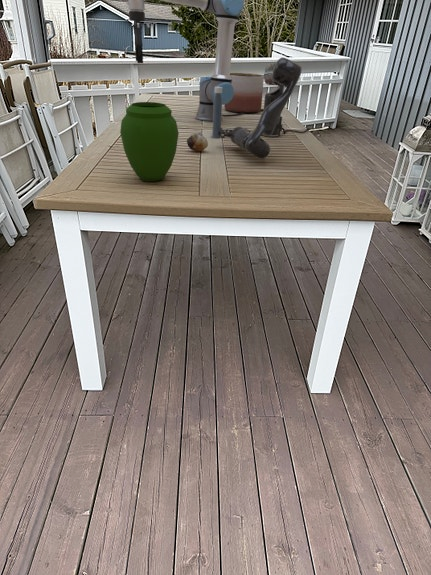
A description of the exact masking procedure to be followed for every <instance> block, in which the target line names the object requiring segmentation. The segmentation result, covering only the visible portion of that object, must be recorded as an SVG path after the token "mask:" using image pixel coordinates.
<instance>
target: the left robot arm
mask: <svg viewBox="0 0 431 575" xmlns="http://www.w3.org/2000/svg"><path fill="white" fill-rule="evenodd" d="M159 1H161V2H166V3H171V4H177V5H183V6H188V7H194V8H199V9H200V10H201V11H202V12H206V13H211V14H214V15H215V19H216V21H217V22H218V25H217V35H216V47H215V48H216V49H215V58H214V59H215V61H214V72H213V74H212V75H211V76H202V77H200V79H199V94H198V95H199V100H198V101H199V103H198V104H199V105H198V107H197V111H196V114H195V119H196V120H199V121H202V122H203V121H204V122H213V106H214V97H215V95H216V93H215V87H222V93H221V98H222V106H224V105H225V104H227V103H229V102H230V101H231V100H232V98H233V96H234V88H233V86H232V85H231V83H232V78H231V77H230V73H231V67H232V66H231V64H232V54H233V47H234V46H233V45H234V35H235V25H236V23H238V21H239V15H240V13H242V11H243V9H244V5H245V4H244V0H159ZM126 5H128V6H127V7H128V10H129V11H128V20H129V21H130V22H131V21H132V22H133V25H132V29H133V35H134V52H135V53H134V54H135V61H136V63H137V64H144V53H143V52H144V51H143V45H144V44H143V36H142V35H143V26H142V23H141V22H145V21H146V13H145V10H146V6H145V0H127V2H126ZM263 111H264V108H261V110H260V111H259V112H263ZM244 114H246V113H245V112H243V113H234V114H222V115H221V117H237V116H241V115H244Z"/></svg>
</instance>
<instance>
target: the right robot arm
mask: <svg viewBox="0 0 431 575" xmlns="http://www.w3.org/2000/svg"><path fill="white" fill-rule="evenodd" d="M302 71H303V68H302V66H301V65H300V64H299V63H296V62H294V61H293V60H291V59H289V58H287V57H280V58H279V59H277V61H276V62H275V63H270V64H267V65H266V67H265V69H264V71H263V76H264V83H265V84H266V85H267V86H277V87H276V88H275V89H273V90H271V91H269V92H268V91H267V92H266V93H265V95H264V100H263V109H264V111H262V113H261V115H260V117H259V120H258V122H257V125H256V127H255V128H254V130H253V131H252V132H251V130H249V129H248V128H245V127H242V126H237V127H234V128H232V129H231V128H225V129H224V128H223V127H221V128H219V130H218V136H220V138H222V139H225V138H228V139H230V141H231V142H232V143H233V144H234V145H236V146H238V147H239V148H242V149H243V150H245V151H246V152H248V153H250V154H251V155H252V156H254V157H255V158H257V159H259V160H262V159H266V158H267V157H268V156H269V155H270V152H271V145H270V144H269V142H267V141H265V140H264V139H262V138H261V136H264V137H268V138H275V137H281V132H283V134H284V135H285V134H286V132H292V133H299V134H304V133H307V132H309V131H310V130H309V128H305V130H303V131H302V130H301V131H300V130H293V129H285V128H284V127H283V124H282V123H283V122H282V121H283V116H282V113H283V110H284V108H285V107H286V105H287V103H288V101H289V99H290V97H292V96H291V95H292V94H293V92H294V90H295V88H296V86H297V84H298V81H299V80H300V78H301V75H302Z"/></svg>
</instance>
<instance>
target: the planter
mask: <svg viewBox="0 0 431 575" xmlns="http://www.w3.org/2000/svg"><path fill="white" fill-rule="evenodd" d="M230 77H231V78H232V83H231V85H232V86H233V88H234V96H233V98H232V100H231V101H230V102H229V103H227V104H225V105H223V107H224V109H225V110H226V111H228V112H231V113H235V114H239V113H243V112H245V113H244V114H256V113H259V112H261V111H260V110H261V109H262V105H263V93H264V83H265V81H264V74H260V73H259V74H258V73H250V72H230Z"/></svg>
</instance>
